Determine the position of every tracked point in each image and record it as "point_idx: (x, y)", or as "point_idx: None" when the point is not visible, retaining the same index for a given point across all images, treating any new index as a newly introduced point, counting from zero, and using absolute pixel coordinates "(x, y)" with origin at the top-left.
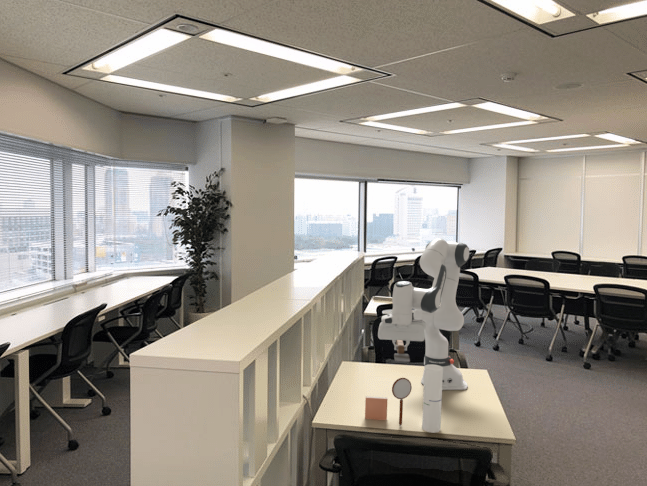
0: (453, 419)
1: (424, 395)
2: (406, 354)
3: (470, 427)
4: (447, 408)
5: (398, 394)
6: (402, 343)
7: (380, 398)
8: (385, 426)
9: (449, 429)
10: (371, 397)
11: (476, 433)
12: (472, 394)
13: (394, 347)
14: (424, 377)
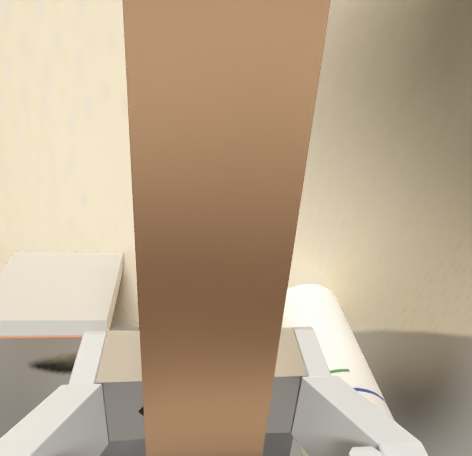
0: (428, 227)
1: (300, 449)
2: (267, 437)
3: (461, 286)
4: (460, 105)
5: None
6: (256, 361)
7: (66, 336)
8: (119, 318)
9: (372, 310)
10: (10, 330)
11: (457, 325)
12: None
13: (80, 345)
14: None
